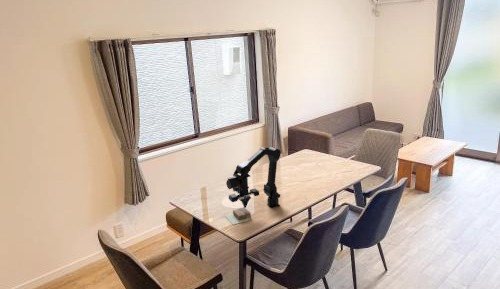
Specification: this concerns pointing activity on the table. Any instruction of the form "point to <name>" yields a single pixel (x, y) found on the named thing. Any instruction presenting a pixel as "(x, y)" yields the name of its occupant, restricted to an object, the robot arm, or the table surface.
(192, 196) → the table surface
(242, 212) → the grey brown stone slab
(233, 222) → the mat
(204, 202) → the table surface
